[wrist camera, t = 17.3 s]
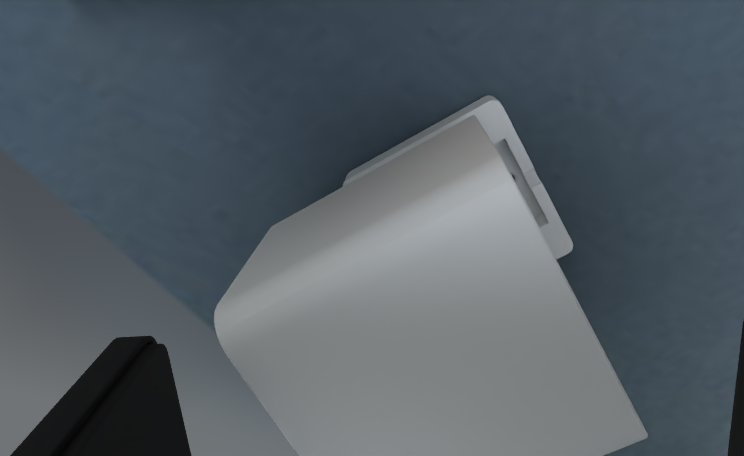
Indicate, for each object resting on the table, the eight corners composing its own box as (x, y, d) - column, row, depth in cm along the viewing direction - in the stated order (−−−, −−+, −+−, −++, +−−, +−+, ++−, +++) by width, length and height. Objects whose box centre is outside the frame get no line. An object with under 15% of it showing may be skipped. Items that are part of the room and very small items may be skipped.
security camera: (297, 186, 21) (199, 325, 11) (486, 79, 19) (555, 138, 10) (391, 335, 22) (373, 567, 13) (572, 247, 21) (702, 436, 11)
